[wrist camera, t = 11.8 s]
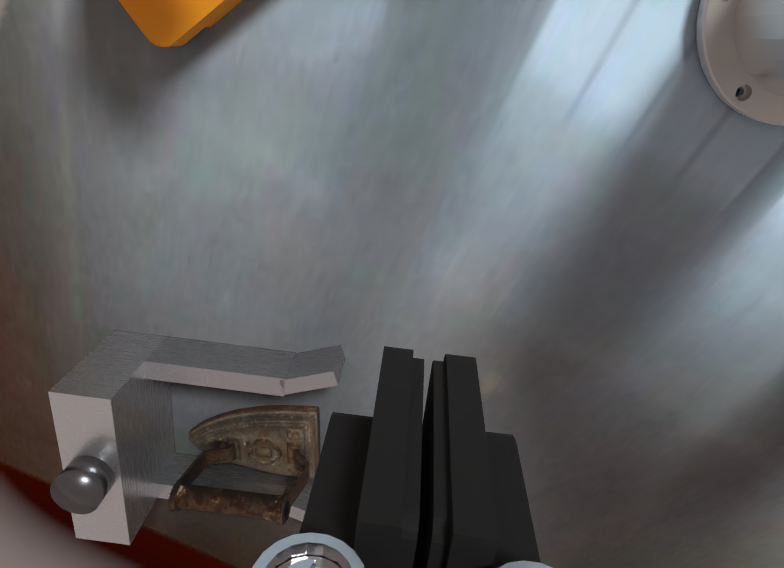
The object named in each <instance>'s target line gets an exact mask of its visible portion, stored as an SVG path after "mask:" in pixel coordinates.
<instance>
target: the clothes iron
mask: <svg viewBox="0 0 784 568" xmlns="http://www.w3.org/2000/svg"><path fill="white" fill-rule="evenodd" d="M189 435H190V440H192V441H193V443H194V444H195V445H197V446H198V447H200V448H202V449H203V450H205V451H204V452H202V453H201V454H200V455H199V456H198V457H197V458H196V459H195V460H194V461H193V462H192V464H191V465H190V466H189V467H188V469H187V470H186V471H185V472H184V473H183V475H182V476H181V477H180V478H179V480H178V481H177V482H176V483H175V484H174V486H173V488H172V490H171V492H170V496H169V501H168V507H169V510H170V511H178V510H180V509H181V508H185V509H192V510H200V511H208V512H215V513H222V514H230V515H237V516H244V517H251V518H258V519H264V520H270V521H275V522H276V523H277V525H284V524H285V523H286V521H287V519H288V517H289V514H290V510H291V506H292V505H293V503H294V502H295V500H296V499H297V498H298V496H299V495H300V493H301V492H302V491H303V489H304V488H305V486H306V485H307V483H308V481H309V478H314V477H315V474H316V470H317V466H318V462H319V459H320V420H319V407H315V406H290V405H273V406H258V407H250V408H243V409H238V410H233V411H229V412H225V413H222V414H219V415H216V416H214V417H211V418H209V419H207V420H205V421H203V422H201V423H199V424H198V425H197V426H195V427H194V428H193V429H191V430H190V432H189ZM230 462H232V463H235V464H238V465H242V466H245V467H249V468H253V469H257V470H261V471H265V472H270V473H275V474H280V475H287V476H293V477H299V478H298V479H297V480H296V481H295V483H294V484H293V486H292V487H291V488H290V490H289V491H288V492H287V493H284V494H283V495H271V494H263V493H254V492H246V491H238V490H230V489H222V488H215V487H208V486H199V485H192V483H193V482H194V481H195V479H196V478H197V477H198V476H199V475H200V473H201V472H202V471H203V470H204V469H205V468H206V467H208V466H210V465H213V464H222V463H230Z"/></svg>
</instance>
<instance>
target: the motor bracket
mask: <svg viewBox="0 0 784 568" xmlns="http://www.w3.org/2000/svg"><path fill="white" fill-rule="evenodd" d="M344 361H345V357H344V353H343V350H342V347H341V345H340V346H335V347H329V348H324V349H318V350H313V351H308V352H302V353H297V354H296V353H294V352H286V351H278V350H270V349H262V348H254V347H246V346H238V345H230V344H222V343H214V342H206V341H199V340H191V339H183V338H175V337H167V336H159V335H151V334H143V333H135V332H127V331H119V330H114V331H113V332H112V333H111V334H110V335H109V336H108V337H106V338H105V339H104V340H103V341H102V342H101V343H100V344H99V345H98V346H97V347H96V348H95V349H94V350H93V351H91V352H90V353H89V354H88V355H87V356H86V357H85V358H84V359H83V360H82V361H81V362H80V363H79V364H77V365H76V366H75V367H74V368H73V369H72V370H71V371H70V372H69V373H68V374H67V375H66V376H65V377H64V378H62V379H61V380H60V381H59V382H58V383H57V384H56V385H55V386H54V387H53V388H52V389H51V390H50V391H48V393H49V398H50V403H51V409H52V414H53V419H54V424H55V430H56V435H57V440H58V445H59V451H60V456H61V461H62V466H63V471H62V473H61V474H60V475H59V476H58V477H57V478H56V480H55V481H54V482H53V483H52V485H51V488H50V493H51V496H52V498H53V500H54V501H55V502H56V503H57V504H58V505H59V506H60V507H61V508H63V509H64V510H66V511H69V512H71V513H72V519H73V523H74V529H75V534H76V538H82V539H89V540H97V541H105V542H112V543H119V544H127V545H130V543H131V542H132V541H133V539H134V537H135V536H136V534H137V532H138V531H139V529H140V527H141V526H142V524H143V522H144V520H145V519H146V517H147V515H148V514H149V512H150V510H151V509H152V507H153V505H154V504H155V502H156V500H157V499H158V498H163V499H169V496H170V492H171V490H172V488H173V486H174V484H175V483H176V482H177V481H178V480H179V478H180V477H181V476H182V475H183V473H184V472H185V471H186V470H187V469H188V467H189V466H190V465H191V464H192V462H193V461H194V460H195V459H196V458H197V457H198V456H193V455H185V454H177V453H175V443H174V430H173V417H172V405H171V392H170V382H175V383H182V384H190V385H198V386H206V387H214V388H222V389H229V390H237V391H245V392H253V393H261V394H269V395H276V396H284V395H286V394H292V393H298V392H303V391H309V390H315V389H321V388H327V387H332V386H338V384H339V380H340V376H341V373H342V369H343V365H344ZM298 478H299V477H293V476H287V475H280V474H275V473H270V472H265V471H261V470H257V469H253V468H249V467H245V466H242V465H238V464H235V463H232V462H230V463H222V464H213V465H210V466H208V467H206V468H205V469H204V470H203V471H202V472H201V473H200V475H199V476H198V477H197V478H196V479H195V481H194V482H193V483H192V485H199V486H208V487H215V488H222V489H230V490H238V491H246V492H254V493H263V494H271V495H283V494H284V493H287V492H288V491H289V490H290V488H291V487H292V486H293V484H294V483H295V481H296V480H297V479H298ZM313 481H314V479H313V478H309V481H308V483H307V485H306V486H305V488H304V489H303V491H302V492H301V493H300V495H299V496H298V498H297V499H296V500H295V502H294V503H293V505H292V506H291V510H290V514H289V517H292V518H294V519H297V520H299V521H301V522H303V518H304V515H305V511H306V507H307V504H308V500H309V496H310V492H311V489H312V485H313Z"/></svg>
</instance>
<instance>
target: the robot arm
mask: <svg viewBox="0 0 784 568" xmlns="http://www.w3.org/2000/svg"><path fill="white" fill-rule="evenodd" d="M696 28H697V49H698V54H699V59H700V63H701V67H702V69H703V72H704V74H705V76H706V78H707V80H708V83H709V85H710V86H711V87H712V89H713V90H714V91H715V92H716V94H717V95H718V96H719V98H720V99H721V100H722V101H723V102H725V103H726V104H727V105H728V106H730V107H731V108H732V109H733V110H735V111H736V112H738V113H740V114H742V115H744V116H747V117H749V118H751V119H753V120H757V121H761V122H764V123H767V124H771V125H780V126H784V0H700V5H699V11H698V17H697V22H696ZM738 88H739V89H740V92H739V94H738V95H736V91H737V89H738ZM735 95H736V96H735ZM423 383H424V359H418V358H413V350H410V349H402V348H394V347H386V346H384V351H383V358H382V364H381V370H380V377H379V383H378V390H377V396H376V402H375V409H374V415H373V417H367V416H359V415H352V414H344V413H336V412H333V413H332V415H331V418H330V421H329V425H328V429H327V433H326V436H325V440H324V444H323V448H322V451H321V455H320V459H319V462H318V466H317V470H316V474H315V477H314V481H313V485H312V489H311V492H310V496H309V500H308V504H307V507H306V511H305V515H304V518H303V522H302V526H301V530H300V533H299V534H295V535H292V536H289V537H287V538H284V539H282V540H279V541H277V542H276V543H275V544H273V545H272V546H271V547H269V548H268V549H267V550H265V551H264V552H263V553H262V555H261V556H260V557H259V559H258V560H257V562H256V563H255V564H254V566H253V567H252V568H552V567H550V566H547V565H545V564H542V563H540V558H539V553H538V548H537V543H536V538H535V533H534V528H533V523H532V518H531V513H530V509H529V504H528V499H527V494H526V489H525V484H524V479H523V474H522V469H521V464H520V459H519V454H518V449H517V444H516V441H515V438H514V437H513V435H508V434H500V433H492V432H485V425H484V417H483V410H482V402H481V394H480V387H479V379H478V371H477V363H476V358H473V357H465V356H458V355H450V354H445V357H444V361H443V362H442V361H434V360H433V363H432V368H431V374H430V381H429V387H428V393H427V400H426V406H425V412H424V419H423V425H422V417H423Z"/></svg>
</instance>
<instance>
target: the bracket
mask: <svg viewBox="0 0 784 568" xmlns="http://www.w3.org/2000/svg"><path fill="white" fill-rule="evenodd" d="M118 1H119V2H120V3H121V5H122V6H123V7H124V9H125V10H126V11H127V12H128V14H129V15H130V16H131V18H132V19H133V20H134V22H135V23H136V24H137V26H138V27H139V28H140V30H141V31H142V32H143V34H144V35H145V36H146V38H147V39H148V40H149V41H150V42H151V43H153V44H154V45H156V46H159V47H174V46H182V45H184V44H186V43H187V42H188V41H189V40H191V39H192V38H193V37H194V36H195V35H197V34H198V33H199V32H200V31H201V30H203V29H204V28H205V27H211V26H212V25H214V24H215V23H216V22H217V21H218V20H220V19H221V18H222V17H223V16H224V15H226V14H227V13H228V12H229V11H230V10H232V9H233V8H234V7H235V6H236V5H238V4H239V3H240V2H241V1H242V0H118Z"/></svg>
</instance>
